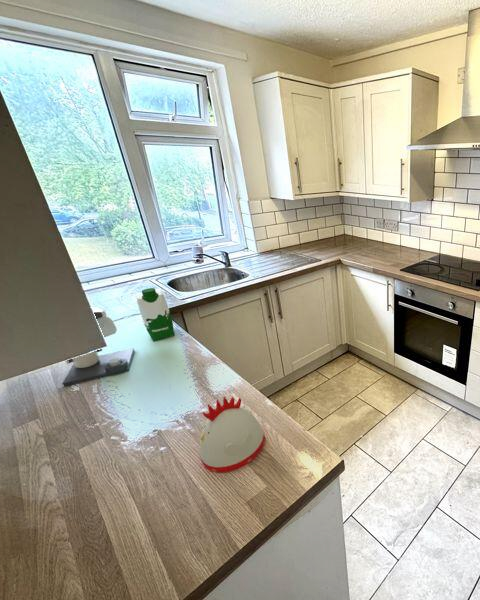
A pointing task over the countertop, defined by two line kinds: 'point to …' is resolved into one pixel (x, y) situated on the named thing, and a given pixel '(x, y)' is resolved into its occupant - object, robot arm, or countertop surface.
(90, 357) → the bowl
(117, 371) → the scale
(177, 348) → the countertop surface
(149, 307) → the milk carton
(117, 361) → the tare button
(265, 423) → the countertop surface
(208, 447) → the kitchen timer
